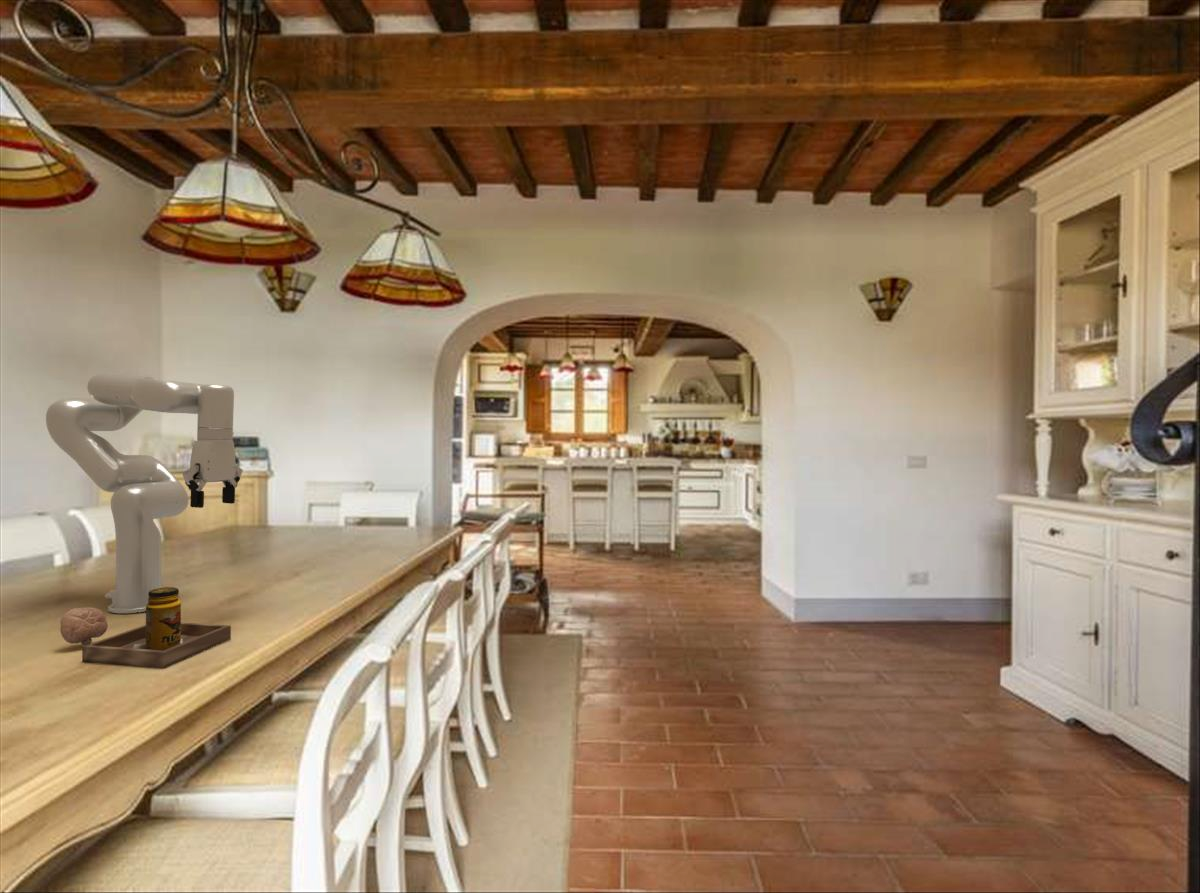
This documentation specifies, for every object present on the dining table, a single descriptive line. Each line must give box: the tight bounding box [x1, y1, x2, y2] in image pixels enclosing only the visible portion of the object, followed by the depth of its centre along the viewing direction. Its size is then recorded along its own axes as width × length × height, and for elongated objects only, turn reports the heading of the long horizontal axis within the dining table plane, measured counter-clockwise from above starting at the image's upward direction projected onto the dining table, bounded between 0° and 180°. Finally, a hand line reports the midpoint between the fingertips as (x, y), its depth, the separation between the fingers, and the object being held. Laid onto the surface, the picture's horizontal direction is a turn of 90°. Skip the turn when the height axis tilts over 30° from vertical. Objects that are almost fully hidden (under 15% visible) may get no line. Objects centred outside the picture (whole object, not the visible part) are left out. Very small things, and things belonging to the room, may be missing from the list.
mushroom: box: [59, 606, 109, 646], centre depth 137 cm, size 8×6×8 cm
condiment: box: [134, 586, 183, 651], centre depth 135 cm, size 7×8×12 cm
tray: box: [81, 621, 232, 669], centre depth 136 cm, size 18×18×3 cm
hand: (213, 505), depth 161 cm, fingers open, 9 cm apart
